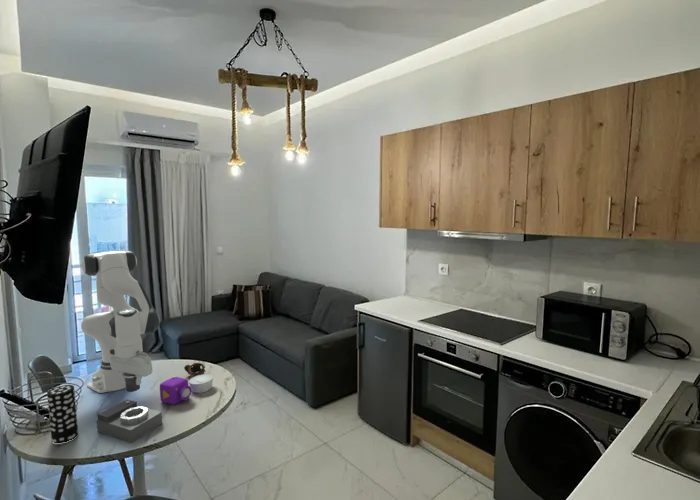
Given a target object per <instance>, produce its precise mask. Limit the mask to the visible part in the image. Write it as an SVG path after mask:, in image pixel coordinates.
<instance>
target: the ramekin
mask: <svg viewBox="0 0 700 500" xmlns="http://www.w3.org/2000/svg"><path fill="white" fill-rule="evenodd" d="M213 382H214V376H213V375H212V374H207V373H206V374H204V373H203V374H202V375H198V376H195V377H193V378H191V379H190V378H189V381H188V385H189V386H190V387H191V389H192V393H195V394H202V392H203V393H206V392H208V391H210V390H211V389H212V387H213ZM205 391H206V392H205Z"/></svg>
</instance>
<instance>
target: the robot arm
mask: <svg viewBox="0 0 700 500" xmlns="http://www.w3.org/2000/svg"><path fill="white" fill-rule="evenodd" d="M137 265H138V259H137V256H136V254H135V252H133V251H130V250H124V251H123V250H122V251H120V250H115V251H114V250H113V251H112V250H111V251H103V252H95V253H88V254H86V255H84V256H83V259H82V262H81V268H82V270H83V272H84V274H85V275H87V276H90V277H96V281H95V282H96V295H97V297H96V298H97V301H98V303H99V304H102V305H103V306H107V307H111V308H112V310H111V311H103V312H96V313H93V314H89V315H87V316H85V317H84V318H83V319H82V321H81V324H80V329H81V331H82V332H83V334H84V335H86V336H88V337H90V338H92V339H94V340H95V341H96V342H97V343H98V345H99V348H100V351H101V352H100V353H101V358H102V360H99V364H100V367H98V369H97V370H95V371H94V373H93V374H92V377H91V379H92V380H91V381H89V382H88V383H87V384H86V386H87V387H88V388H89V389H91V390H93V391H95V392H96V393H99V394H103V393H107V392H115V391H116V392H117V391H120V390H123V389H126V386H125V373H129V374H134V375H136V377H137V379H136V380H135V385H139V384H140V385H141V384H142V379H143V377H148V376H150V375H151V374H152V373H153V364H152V359H151V357H150V355H148V354H147V352H143V351H144V350H143V339H142V336H141V335H147V334H153V333H155V332H156V331H157V330H158V329H159V327H160V326H161V325H160V324H161V323H160V322H161V321H160V320H161V319H160V316H159V314H158V313H157V311H156V309H155V308H154V306H153V304H152V302H151V300H150V298H149V295H148V293H147V291H146V289H145V287H144V286H143V284H142V282H141V281H139V280H136V279H135V278H134V277H133V276H132V274H131V273H130V272H133V271H134V270H135V269H136V268H137ZM125 296H128V297H131V298H134V299H135V300H136V302H137V303H138V306H139V308H140V310H141V311H139V310H138V309H137V308H135V307H133V306H131V305H130V304H129V303H128V302H127V300H126V298H125Z"/></svg>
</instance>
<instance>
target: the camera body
mask: <svg viewBox="0 0 700 500" xmlns="http://www.w3.org/2000/svg"><path fill="white" fill-rule="evenodd" d="M96 416H97V419H96V427H97V432H99V433H102V434H105V435H107V436H111V437H114V438H116V439H117V438H118V439H119V440H123V441H126V442H129V443H133V442H135V441H136V440H139V438H141V437H142V436H145V435H147V434H148V433H149V432H151V431H152V430H154V429H155V428H157V427H159V426H161V425H163V414H162V411H160V410H155V409H152V408H149V407H146V406H142V405H138V401H134V400H131V399H125V400H124V401H121V402H119V403H117V404H115V405H112V406H111V407H109V408H107V409H105V410H103V411H101V412H99V413H97V414H96Z"/></svg>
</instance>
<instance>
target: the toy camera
mask: <svg viewBox="0 0 700 500" xmlns="http://www.w3.org/2000/svg"><path fill="white" fill-rule="evenodd" d="M192 393H193V391H192V389H191V387H190V385H189V381H188V379H187V378H184V377H181V376H180V377H179V376H176V375H173V376H172V377H170V378H169V379H166V380H165V381H162V382H161V383H160V384H159V394H160V395H159V396H160V402H162V403H165V404H169V405H176V404H179V403H180V402H182V401H186V400H188V399H189V398H190V396H191V395H192Z"/></svg>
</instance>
